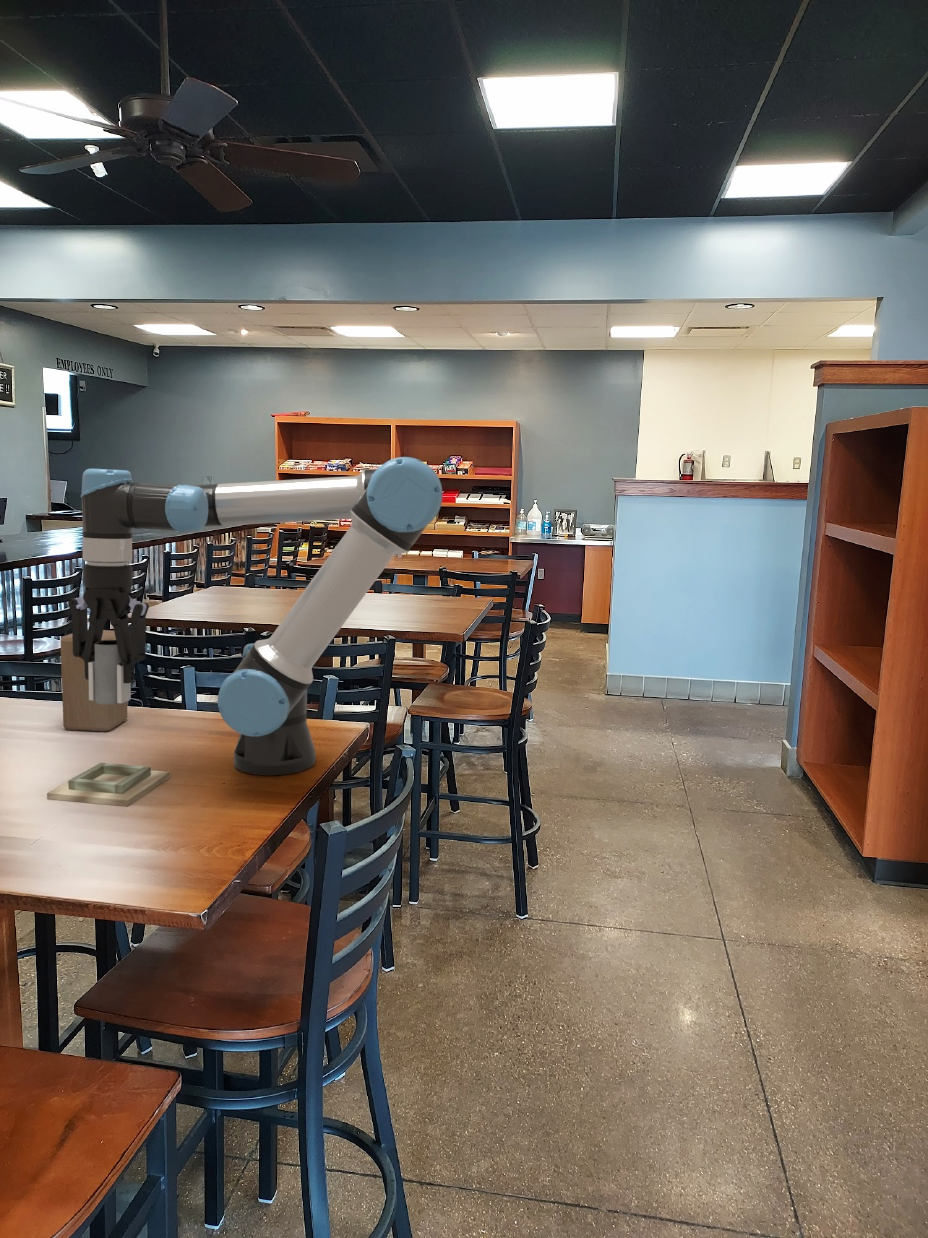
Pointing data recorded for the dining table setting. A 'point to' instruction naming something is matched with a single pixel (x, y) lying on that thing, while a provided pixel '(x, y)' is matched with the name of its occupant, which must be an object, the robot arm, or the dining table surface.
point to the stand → (110, 784)
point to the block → (85, 694)
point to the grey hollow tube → (106, 671)
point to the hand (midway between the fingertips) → (110, 699)
